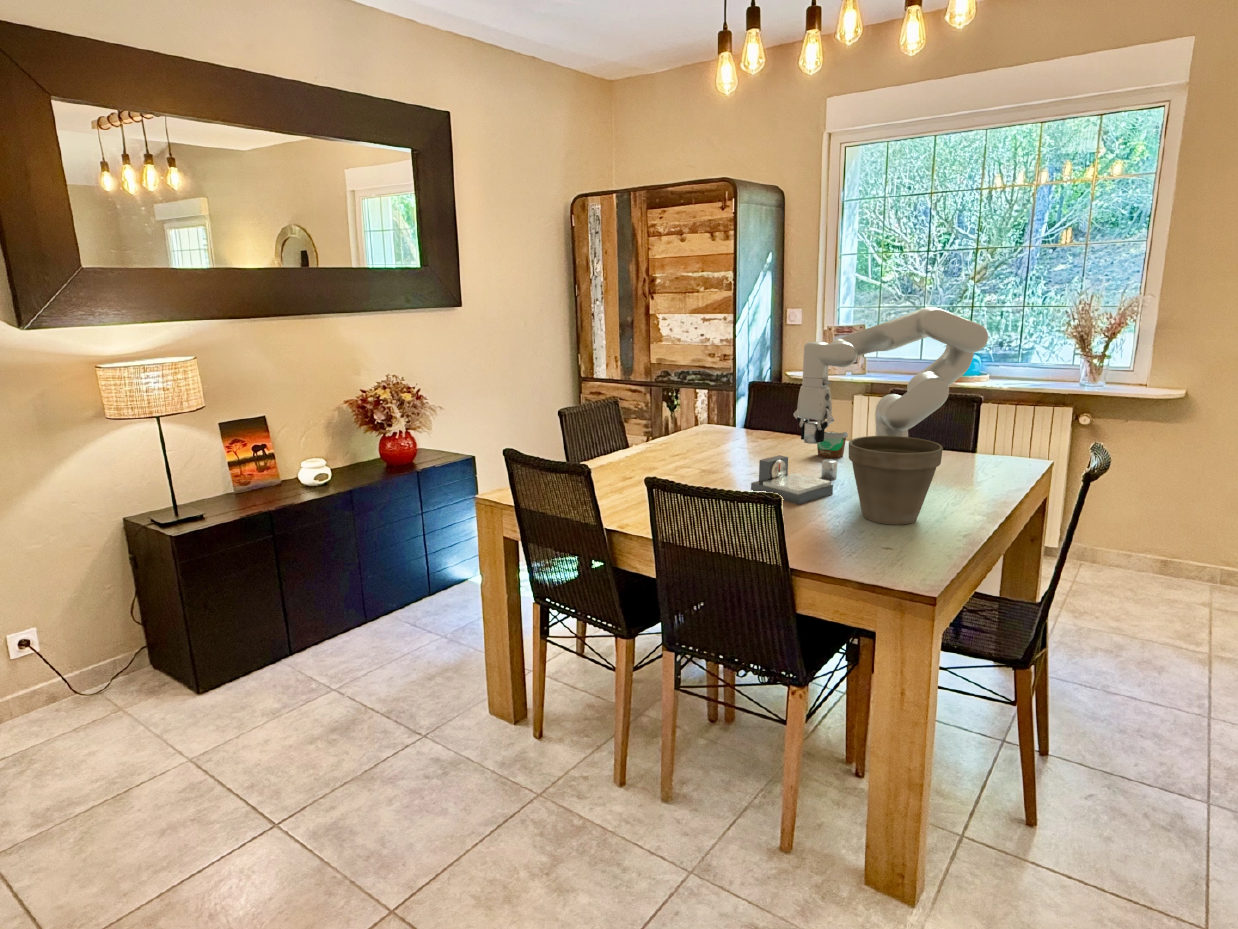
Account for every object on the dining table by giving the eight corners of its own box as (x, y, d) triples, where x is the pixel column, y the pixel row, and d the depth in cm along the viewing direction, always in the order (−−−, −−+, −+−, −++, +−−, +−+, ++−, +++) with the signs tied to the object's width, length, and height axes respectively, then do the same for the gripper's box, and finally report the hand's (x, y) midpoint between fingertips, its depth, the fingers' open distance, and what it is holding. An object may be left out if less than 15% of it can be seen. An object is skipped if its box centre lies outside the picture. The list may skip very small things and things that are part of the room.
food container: (810, 457, 285) (811, 431, 283) (814, 454, 291) (815, 428, 288) (843, 460, 280) (845, 434, 277) (846, 457, 285) (848, 431, 283)
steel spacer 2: (839, 478, 256) (840, 461, 255) (830, 480, 253) (831, 463, 251) (827, 475, 260) (828, 458, 258) (818, 478, 257) (819, 461, 255)
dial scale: (832, 494, 237) (834, 463, 235) (798, 504, 227) (800, 472, 225) (784, 482, 252) (785, 453, 249) (750, 491, 241) (751, 461, 239)
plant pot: (864, 499, 231) (868, 430, 226) (947, 514, 216) (954, 440, 211) (830, 520, 213) (834, 445, 207) (918, 537, 197) (925, 457, 192)
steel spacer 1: (823, 442, 235) (824, 423, 233) (813, 444, 232) (814, 425, 230) (810, 439, 238) (811, 421, 237) (800, 441, 235) (801, 423, 234)
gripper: (845, 384, 226) (842, 443, 231) (800, 378, 239) (797, 434, 244) (830, 386, 222) (827, 446, 226) (785, 381, 235) (782, 438, 239)
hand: (812, 439), depth 235 cm, fingers closed on steel spacer 1, 5 cm apart
